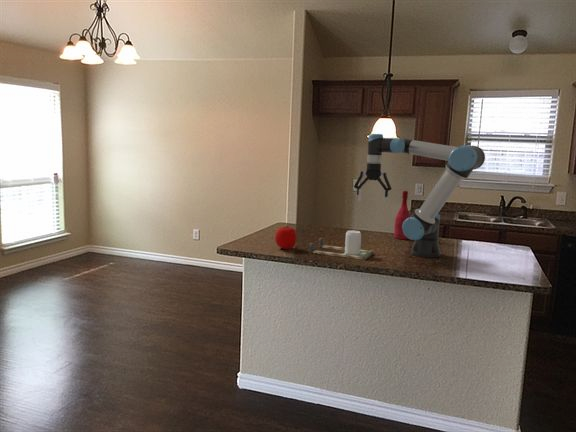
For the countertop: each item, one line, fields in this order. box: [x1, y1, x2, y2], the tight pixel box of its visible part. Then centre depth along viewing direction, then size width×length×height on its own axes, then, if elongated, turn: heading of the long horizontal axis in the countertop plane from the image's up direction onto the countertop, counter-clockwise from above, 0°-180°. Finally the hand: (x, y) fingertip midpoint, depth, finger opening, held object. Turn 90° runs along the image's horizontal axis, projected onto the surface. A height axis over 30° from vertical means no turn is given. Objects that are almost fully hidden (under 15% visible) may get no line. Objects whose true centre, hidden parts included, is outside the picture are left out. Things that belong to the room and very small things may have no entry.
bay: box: [309, 237, 374, 261], centre depth 250 cm, size 30×17×5 cm, turn 67°
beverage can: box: [344, 229, 362, 255], centre depth 247 cm, size 8×8×12 cm
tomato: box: [274, 225, 297, 250], centre depth 255 cm, size 12×12×13 cm
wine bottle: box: [393, 190, 411, 240], centre depth 292 cm, size 10×10×30 cm
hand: (371, 202), depth 256 cm, fingers open, 13 cm apart
